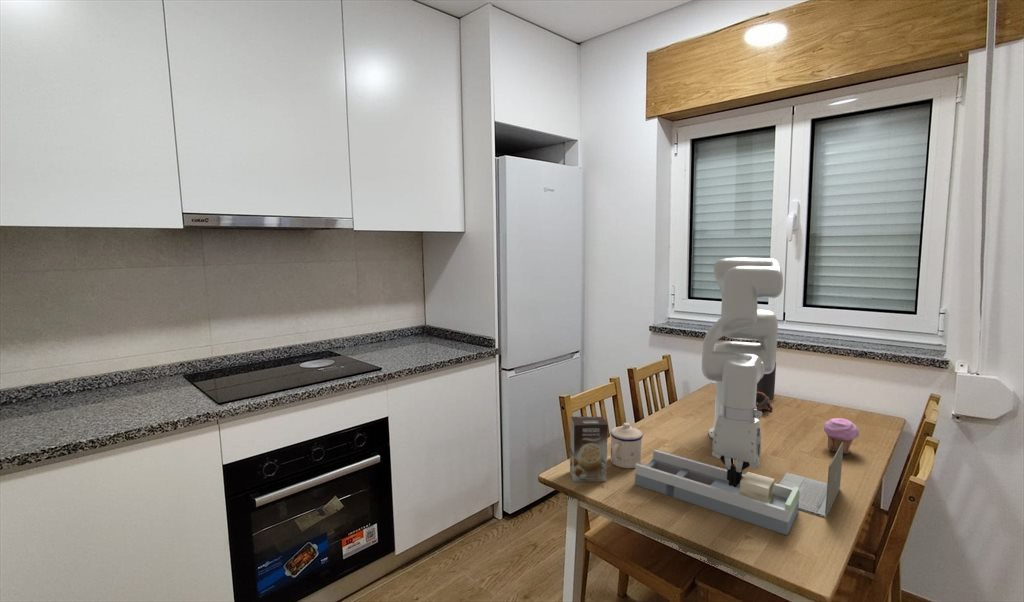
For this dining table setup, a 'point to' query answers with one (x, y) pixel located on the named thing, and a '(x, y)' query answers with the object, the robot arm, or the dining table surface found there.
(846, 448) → the cupcake
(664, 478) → the channel
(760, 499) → the block
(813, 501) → the laptop
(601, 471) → the coffee box
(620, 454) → the teacup with lid
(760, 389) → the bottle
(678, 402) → the dining table surface
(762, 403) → the pottery mug
